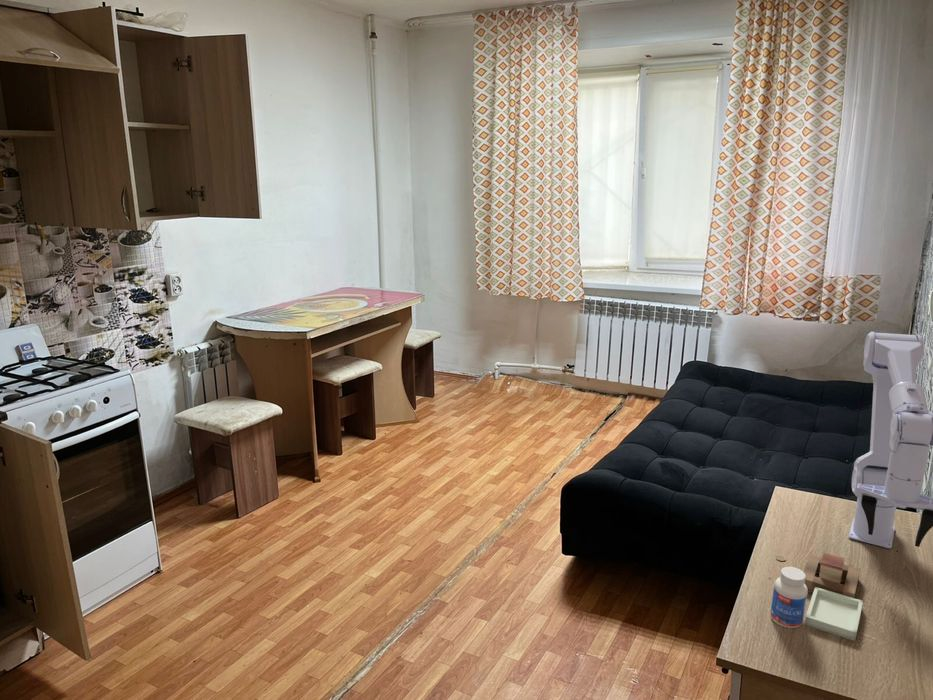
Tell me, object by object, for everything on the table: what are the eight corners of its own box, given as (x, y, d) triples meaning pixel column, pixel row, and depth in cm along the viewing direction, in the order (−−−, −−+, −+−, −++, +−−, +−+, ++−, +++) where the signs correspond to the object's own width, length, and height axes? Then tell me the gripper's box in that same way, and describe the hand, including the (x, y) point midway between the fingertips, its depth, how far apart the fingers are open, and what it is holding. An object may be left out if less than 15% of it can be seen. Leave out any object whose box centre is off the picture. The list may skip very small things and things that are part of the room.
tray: (813, 594, 134) (815, 586, 133) (861, 609, 129) (863, 600, 129) (804, 624, 126) (805, 616, 125) (855, 641, 122) (856, 632, 121)
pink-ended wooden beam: (820, 576, 139) (823, 552, 137) (841, 582, 137) (844, 558, 135) (817, 586, 136) (820, 562, 134) (838, 593, 134) (842, 568, 132)
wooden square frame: (808, 565, 142) (809, 554, 142) (858, 579, 138) (860, 568, 137) (800, 588, 135) (801, 578, 135) (852, 604, 131) (854, 593, 130)
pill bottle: (770, 625, 126) (776, 578, 123) (769, 606, 131) (775, 561, 128) (804, 632, 124) (811, 584, 121) (801, 612, 129) (808, 567, 126)
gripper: (858, 473, 131) (848, 536, 135) (952, 493, 123) (938, 560, 127) (862, 458, 137) (852, 520, 141) (952, 476, 129) (939, 541, 133)
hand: (893, 538), depth 134 cm, fingers open, 7 cm apart
